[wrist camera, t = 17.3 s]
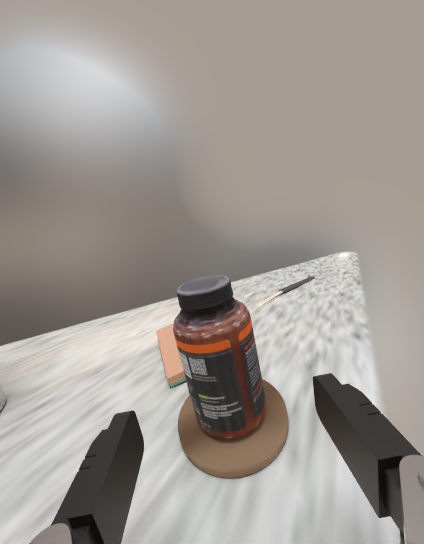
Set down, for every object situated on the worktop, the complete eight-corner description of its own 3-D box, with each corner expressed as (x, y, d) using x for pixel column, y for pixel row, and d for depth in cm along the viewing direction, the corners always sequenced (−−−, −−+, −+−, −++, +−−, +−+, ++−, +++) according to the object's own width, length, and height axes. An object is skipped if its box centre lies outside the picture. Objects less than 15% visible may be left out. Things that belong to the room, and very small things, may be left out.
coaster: (162, 420, 20) (159, 413, 20) (234, 368, 25) (233, 362, 25) (228, 514, 13) (225, 504, 13) (311, 415, 18) (310, 406, 18)
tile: (234, 346, 26) (203, 310, 37) (167, 379, 24) (156, 330, 35) (236, 355, 26) (205, 317, 37) (171, 387, 24) (158, 337, 35)
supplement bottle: (256, 377, 22) (236, 266, 19) (278, 434, 16) (254, 285, 14) (195, 391, 22) (168, 280, 19) (196, 453, 16) (156, 306, 13)
